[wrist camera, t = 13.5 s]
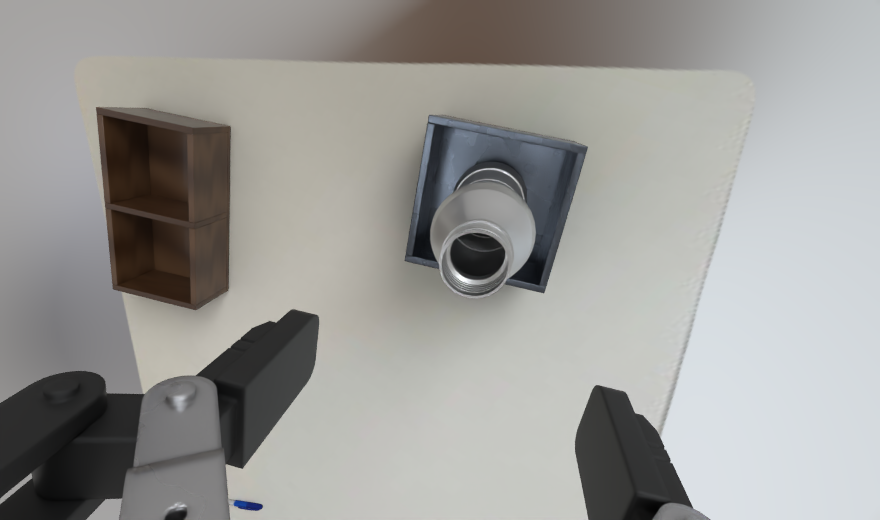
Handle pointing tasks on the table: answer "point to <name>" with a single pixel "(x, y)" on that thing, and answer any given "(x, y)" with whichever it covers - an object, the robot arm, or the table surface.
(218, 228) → the divided box
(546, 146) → the dark grey open box
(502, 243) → the silver metal bottle
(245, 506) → the ballpoint pen
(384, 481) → the table surface
